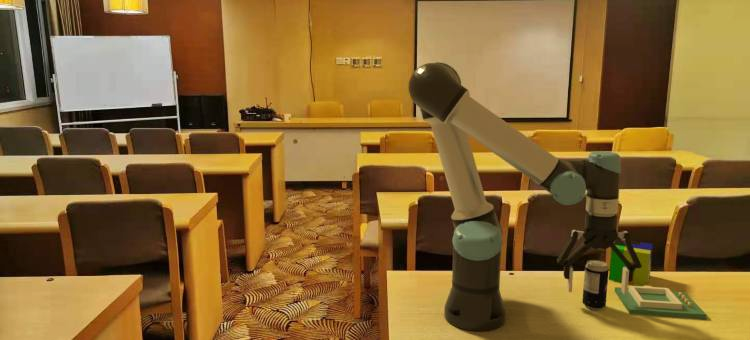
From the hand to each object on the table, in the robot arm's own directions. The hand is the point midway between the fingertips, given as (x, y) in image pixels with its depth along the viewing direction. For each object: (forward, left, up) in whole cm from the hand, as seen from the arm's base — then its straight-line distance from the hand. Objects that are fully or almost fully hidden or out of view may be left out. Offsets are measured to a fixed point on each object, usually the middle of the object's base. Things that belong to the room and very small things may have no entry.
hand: (596, 291), depth 140 cm
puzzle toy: (+15, +22, -5) cm, 27 cm away
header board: (+17, +4, -4) cm, 18 cm away
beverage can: (0, 0, -5) cm, 4 cm away
